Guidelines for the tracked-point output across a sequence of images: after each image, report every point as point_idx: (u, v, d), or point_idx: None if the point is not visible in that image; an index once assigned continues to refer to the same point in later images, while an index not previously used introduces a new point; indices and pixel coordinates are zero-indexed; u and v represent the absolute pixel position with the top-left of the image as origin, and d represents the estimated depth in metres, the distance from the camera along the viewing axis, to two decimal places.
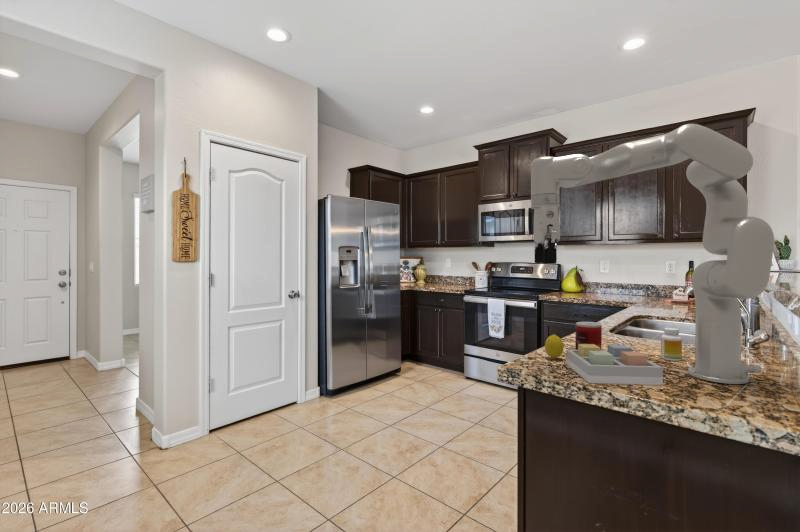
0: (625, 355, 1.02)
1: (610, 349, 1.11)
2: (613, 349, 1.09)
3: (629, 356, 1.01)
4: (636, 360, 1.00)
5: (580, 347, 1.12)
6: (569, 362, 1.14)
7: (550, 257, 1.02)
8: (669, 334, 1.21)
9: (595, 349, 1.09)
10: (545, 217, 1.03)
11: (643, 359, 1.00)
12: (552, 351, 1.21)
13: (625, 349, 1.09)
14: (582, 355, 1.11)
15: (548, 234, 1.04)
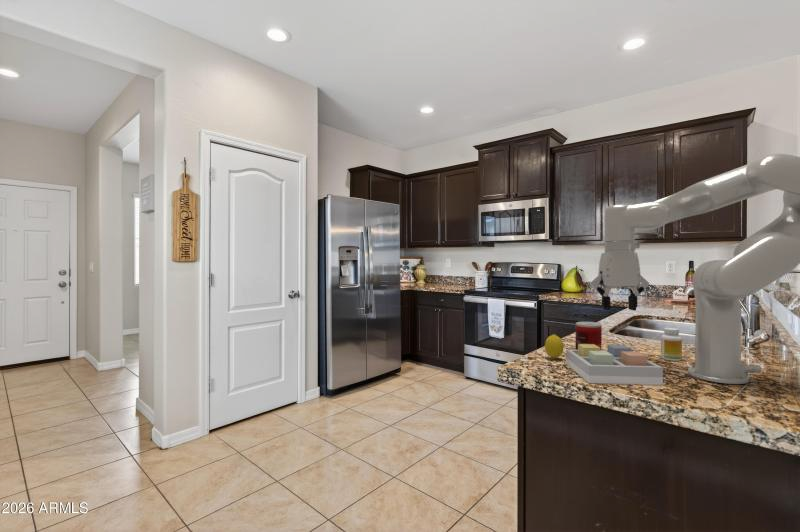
0: (625, 355, 1.02)
1: (610, 349, 1.11)
2: (613, 349, 1.09)
3: (629, 356, 1.01)
4: (636, 360, 1.00)
5: (580, 347, 1.12)
6: (569, 362, 1.14)
7: None
8: (669, 334, 1.21)
9: (595, 349, 1.09)
10: None
11: (643, 359, 1.00)
12: (552, 351, 1.21)
13: (625, 349, 1.09)
14: (582, 355, 1.11)
15: None
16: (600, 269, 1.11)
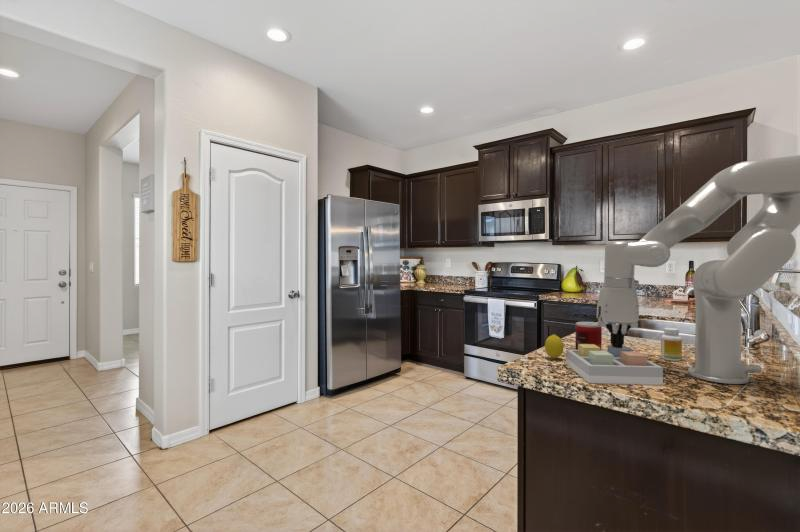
0: (625, 355, 1.02)
1: (610, 350, 1.11)
2: (613, 350, 1.09)
3: (629, 356, 1.01)
4: (636, 360, 1.00)
5: (580, 347, 1.12)
6: (569, 362, 1.14)
7: None
8: (669, 334, 1.21)
9: (595, 349, 1.09)
10: (637, 300, 1.09)
11: (643, 359, 1.00)
12: (552, 351, 1.21)
13: (625, 350, 1.09)
14: (582, 355, 1.11)
15: None
16: (599, 304, 1.11)
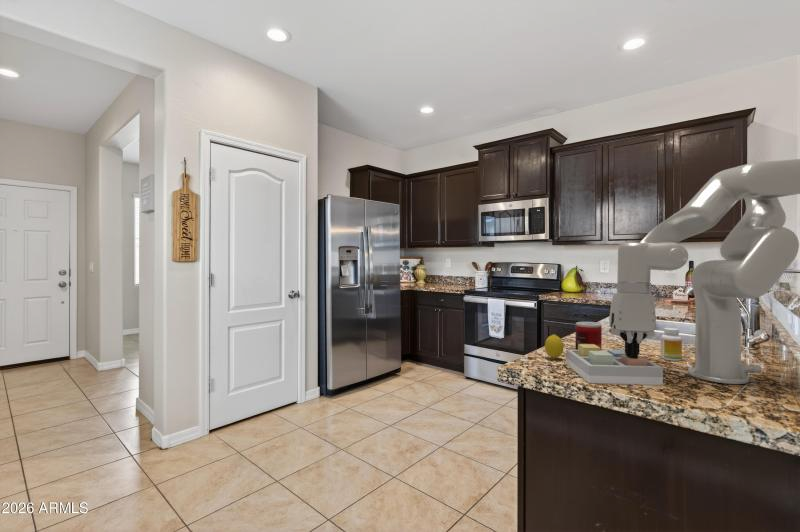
0: (625, 358, 1.02)
1: None
2: (613, 354, 1.10)
3: (629, 360, 1.01)
4: (636, 364, 1.00)
5: (580, 347, 1.12)
6: (569, 362, 1.14)
7: None
8: (669, 334, 1.21)
9: (595, 349, 1.09)
10: None
11: (643, 363, 1.00)
12: (552, 351, 1.21)
13: (625, 354, 1.09)
14: (582, 355, 1.11)
15: None
16: (612, 311, 1.03)
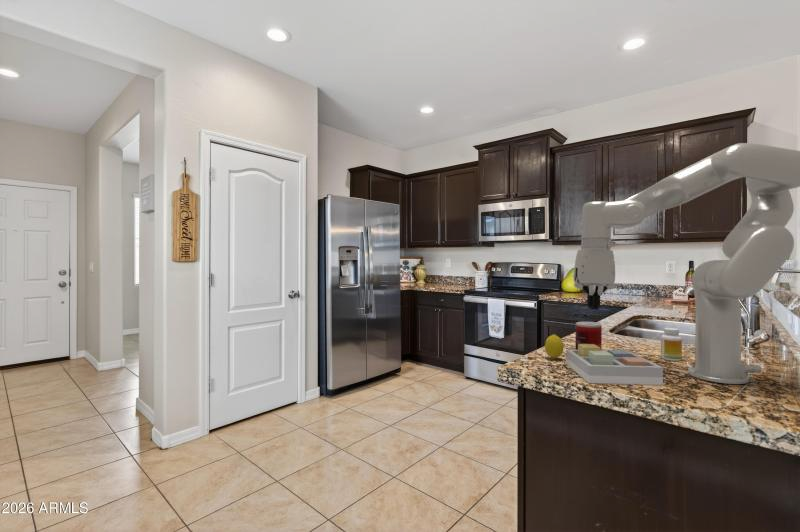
0: (625, 360, 1.02)
1: None
2: (613, 354, 1.10)
3: (629, 362, 1.01)
4: None
5: (580, 347, 1.12)
6: (569, 362, 1.14)
7: None
8: (669, 334, 1.21)
9: (595, 349, 1.09)
10: None
11: (643, 365, 1.00)
12: (552, 351, 1.21)
13: (625, 354, 1.09)
14: (582, 355, 1.11)
15: None
16: (576, 266, 1.10)
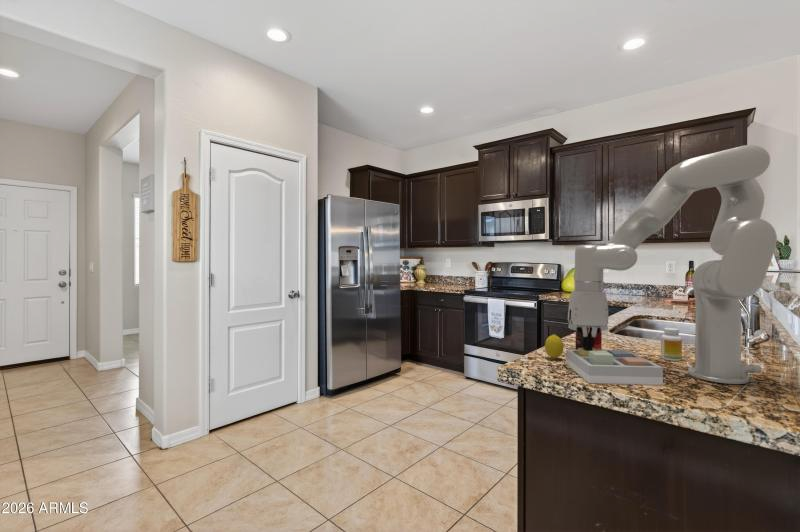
0: (625, 360, 1.02)
1: None
2: (613, 354, 1.10)
3: (629, 362, 1.01)
4: None
5: (580, 351, 1.12)
6: (569, 362, 1.14)
7: None
8: (669, 334, 1.21)
9: None
10: (607, 304, 1.10)
11: (643, 365, 1.00)
12: (552, 351, 1.21)
13: (625, 354, 1.09)
14: None
15: None
16: (570, 308, 1.12)
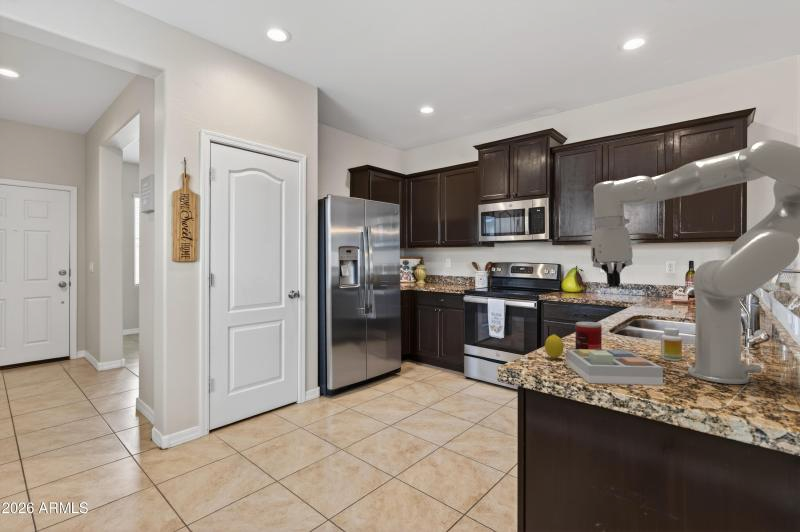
0: (625, 360, 1.02)
1: None
2: (613, 354, 1.10)
3: (629, 362, 1.01)
4: None
5: (580, 352, 1.12)
6: (569, 362, 1.14)
7: None
8: (669, 334, 1.21)
9: None
10: None
11: (643, 365, 1.00)
12: (552, 351, 1.21)
13: (625, 354, 1.09)
14: None
15: None
16: (593, 246, 1.13)
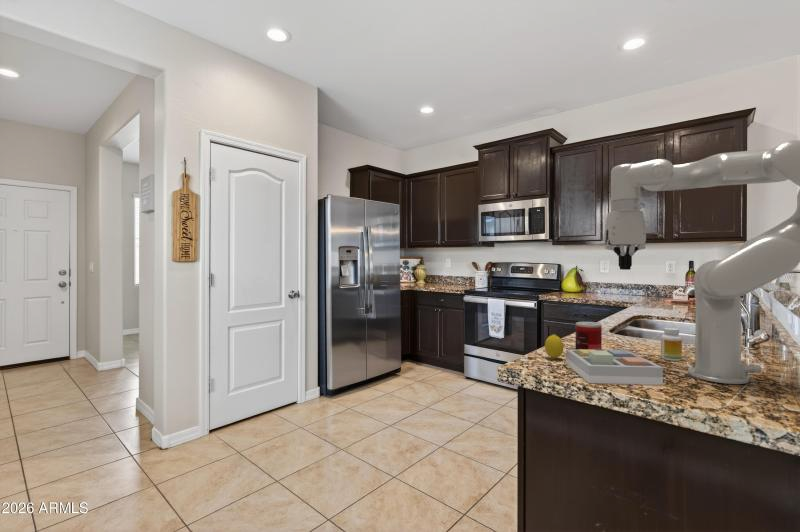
0: (625, 360, 1.02)
1: None
2: (613, 354, 1.10)
3: (629, 362, 1.01)
4: None
5: (580, 352, 1.12)
6: (569, 362, 1.14)
7: None
8: (669, 334, 1.21)
9: None
10: (644, 222, 1.11)
11: (643, 365, 1.00)
12: (552, 351, 1.21)
13: (625, 354, 1.09)
14: None
15: None
16: (607, 228, 1.13)
